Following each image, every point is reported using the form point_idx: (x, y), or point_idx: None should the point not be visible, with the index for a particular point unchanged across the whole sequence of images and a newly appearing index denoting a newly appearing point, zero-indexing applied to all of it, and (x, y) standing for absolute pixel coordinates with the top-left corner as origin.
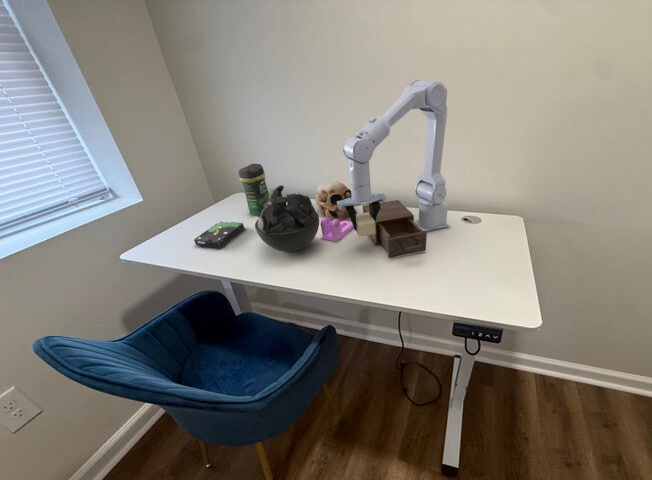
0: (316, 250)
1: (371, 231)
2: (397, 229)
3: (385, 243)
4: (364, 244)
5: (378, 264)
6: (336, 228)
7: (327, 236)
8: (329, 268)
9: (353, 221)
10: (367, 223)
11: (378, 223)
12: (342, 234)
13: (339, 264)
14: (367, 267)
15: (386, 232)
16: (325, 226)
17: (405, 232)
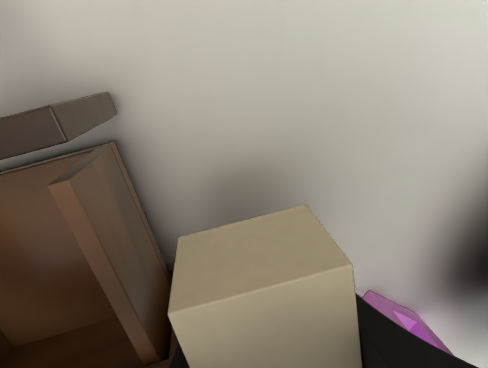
0: (459, 228)
1: (211, 242)
2: (57, 349)
3: (123, 201)
4: None
5: (177, 58)
6: None
7: (409, 317)
8: (436, 59)
9: (389, 324)
10: (253, 288)
11: (157, 363)
12: None
13: (383, 91)
14: (242, 34)
15: (88, 248)
16: None
17: (18, 334)
